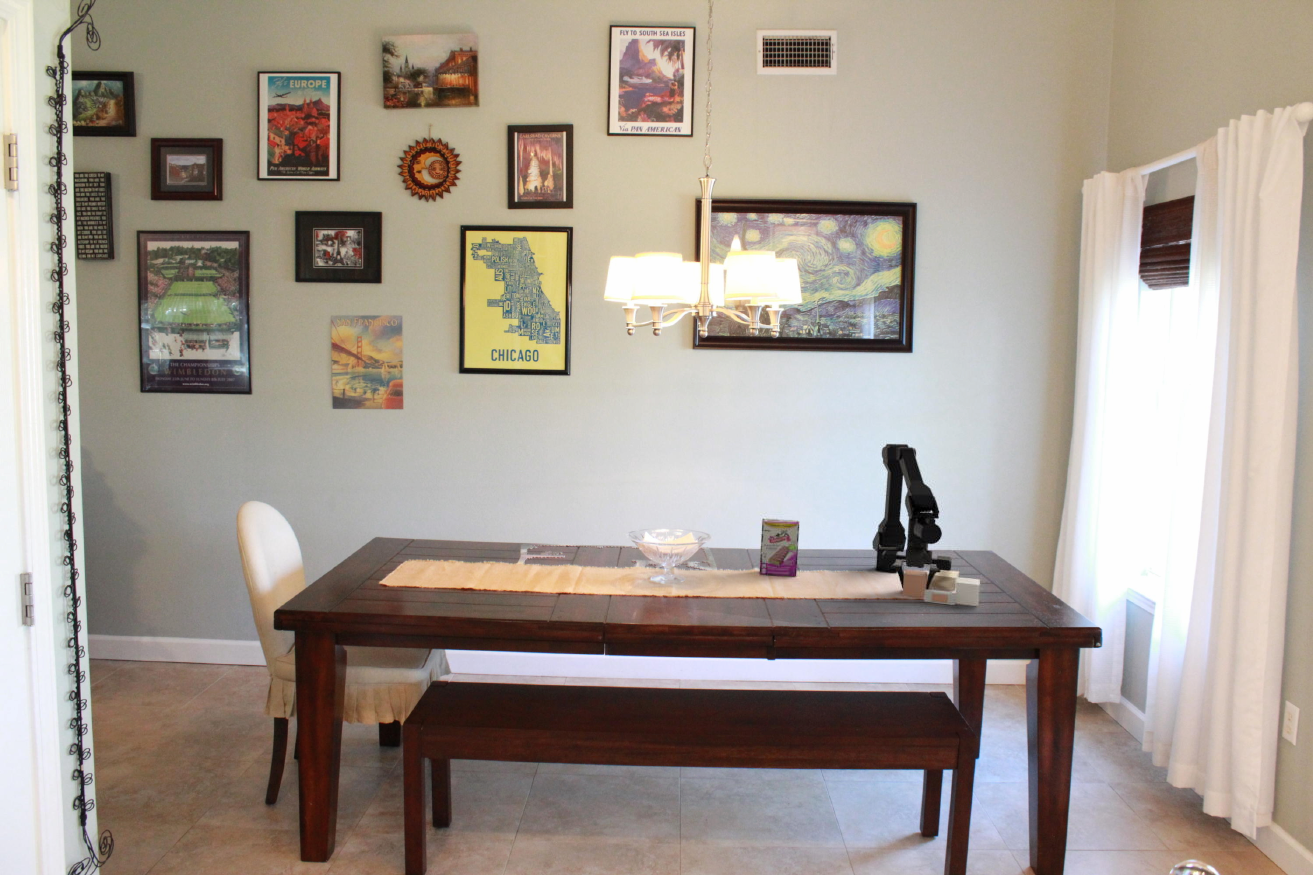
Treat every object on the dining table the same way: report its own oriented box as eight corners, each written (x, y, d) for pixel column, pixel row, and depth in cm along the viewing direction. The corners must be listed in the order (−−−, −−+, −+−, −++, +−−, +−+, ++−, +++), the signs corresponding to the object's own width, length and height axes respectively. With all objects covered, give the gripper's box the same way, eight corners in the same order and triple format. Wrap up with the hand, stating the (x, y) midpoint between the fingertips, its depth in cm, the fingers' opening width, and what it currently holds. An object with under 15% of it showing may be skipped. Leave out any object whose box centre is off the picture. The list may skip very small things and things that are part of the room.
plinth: (924, 601, 248) (924, 590, 248) (924, 599, 250) (925, 589, 249) (954, 605, 245) (955, 594, 245) (954, 603, 247) (955, 592, 247)
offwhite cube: (954, 603, 247) (956, 582, 247) (955, 597, 253) (956, 577, 252) (978, 606, 245) (979, 584, 245) (978, 600, 251) (979, 579, 250)
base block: (926, 587, 264) (927, 574, 263) (930, 581, 271) (930, 567, 270) (955, 591, 260) (955, 577, 260) (958, 584, 268) (958, 571, 267)
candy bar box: (759, 575, 271) (761, 521, 269) (759, 570, 276) (761, 518, 274) (797, 577, 270) (799, 523, 268) (796, 572, 275) (798, 519, 273)
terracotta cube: (902, 595, 254) (904, 574, 253) (904, 589, 259) (905, 569, 259) (924, 597, 252) (926, 576, 251) (926, 592, 257) (927, 571, 257)
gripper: (881, 538, 249) (877, 593, 251) (952, 545, 243) (948, 601, 245) (885, 530, 260) (882, 583, 262) (953, 537, 254) (949, 591, 255)
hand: (914, 590), depth 256 cm, fingers closed on terracotta cube, 6 cm apart
